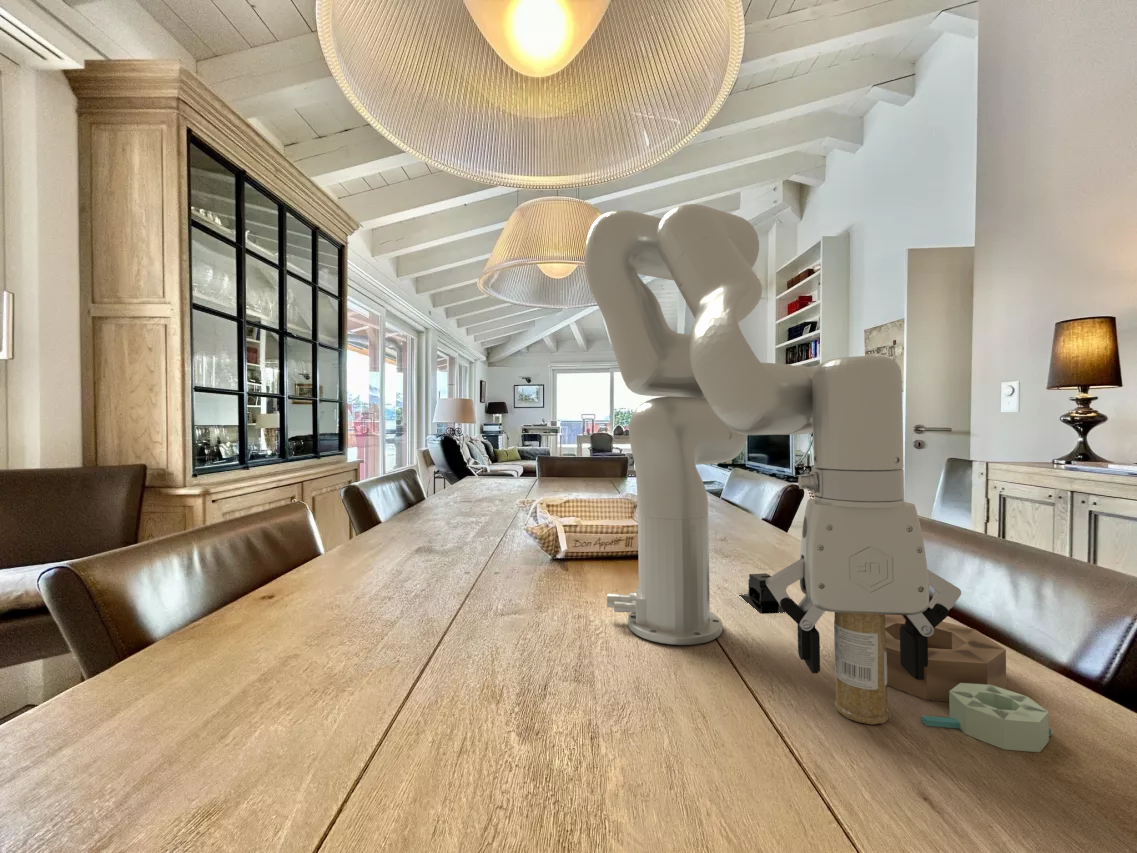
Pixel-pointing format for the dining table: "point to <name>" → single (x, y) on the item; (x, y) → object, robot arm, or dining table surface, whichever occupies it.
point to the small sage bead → (1000, 717)
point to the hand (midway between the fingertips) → (861, 669)
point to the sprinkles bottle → (861, 667)
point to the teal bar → (946, 722)
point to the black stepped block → (761, 595)
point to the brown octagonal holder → (946, 660)
